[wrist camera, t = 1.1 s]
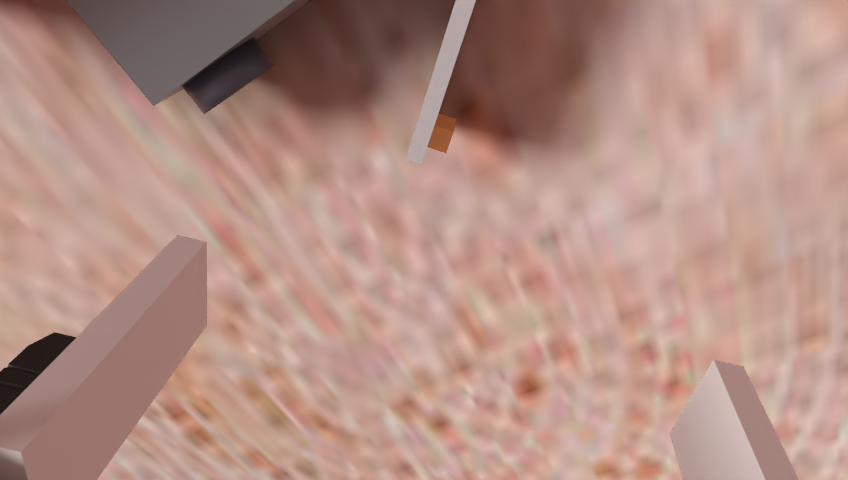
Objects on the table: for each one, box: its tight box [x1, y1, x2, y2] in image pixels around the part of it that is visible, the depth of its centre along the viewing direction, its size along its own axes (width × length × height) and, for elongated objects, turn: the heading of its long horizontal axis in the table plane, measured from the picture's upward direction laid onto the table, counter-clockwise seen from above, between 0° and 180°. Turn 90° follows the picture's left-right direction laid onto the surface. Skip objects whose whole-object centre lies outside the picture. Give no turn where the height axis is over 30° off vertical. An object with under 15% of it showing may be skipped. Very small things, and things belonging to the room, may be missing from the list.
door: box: [405, 0, 476, 165], centre depth 28 cm, size 13×2×7 cm, turn 162°
